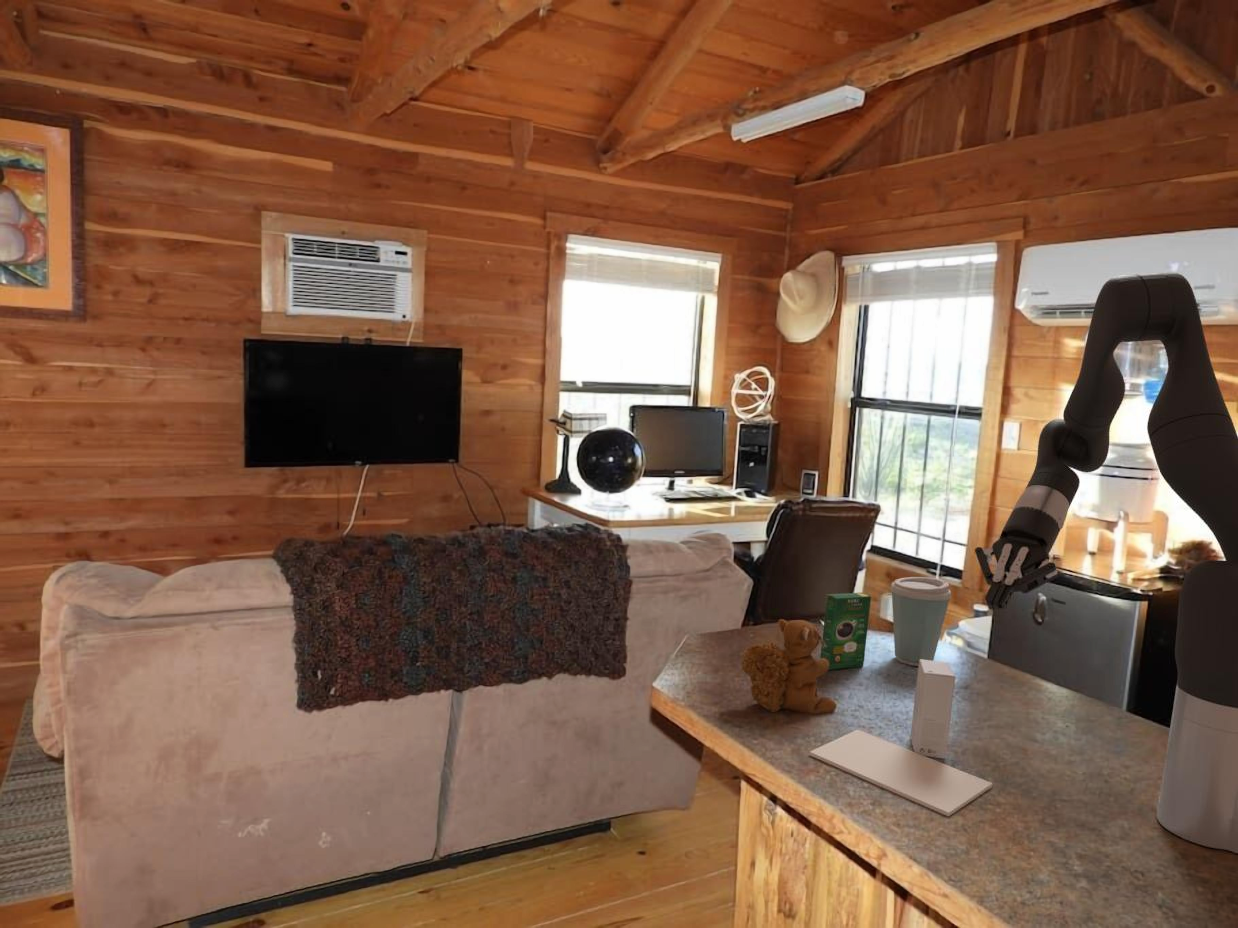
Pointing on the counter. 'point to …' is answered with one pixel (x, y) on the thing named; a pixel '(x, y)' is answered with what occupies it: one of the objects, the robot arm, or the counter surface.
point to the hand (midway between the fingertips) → (993, 607)
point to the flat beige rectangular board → (902, 771)
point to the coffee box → (845, 629)
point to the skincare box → (932, 708)
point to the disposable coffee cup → (918, 617)
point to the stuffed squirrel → (788, 671)
